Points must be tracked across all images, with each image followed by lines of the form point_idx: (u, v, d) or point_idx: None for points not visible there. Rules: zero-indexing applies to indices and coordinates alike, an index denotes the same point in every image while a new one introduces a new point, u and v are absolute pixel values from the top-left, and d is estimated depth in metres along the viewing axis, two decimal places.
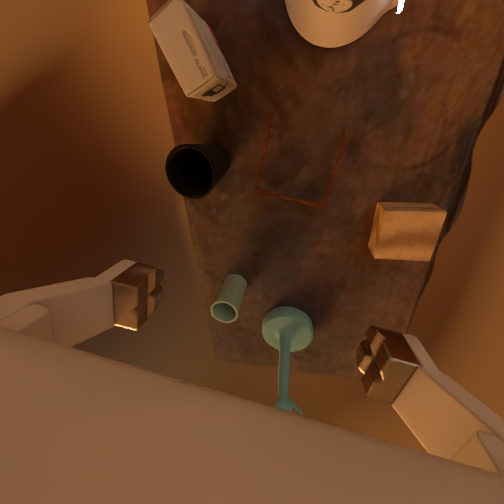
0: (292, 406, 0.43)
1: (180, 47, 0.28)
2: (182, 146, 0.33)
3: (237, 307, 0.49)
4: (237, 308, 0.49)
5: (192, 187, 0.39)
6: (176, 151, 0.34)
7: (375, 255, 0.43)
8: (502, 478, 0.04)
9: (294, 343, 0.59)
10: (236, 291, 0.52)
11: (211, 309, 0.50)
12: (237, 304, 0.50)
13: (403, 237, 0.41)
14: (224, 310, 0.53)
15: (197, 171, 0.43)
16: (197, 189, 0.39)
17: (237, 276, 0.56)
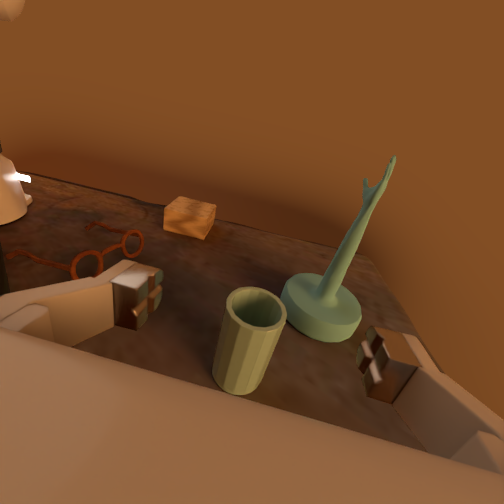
0: (366, 188, 0.31)
1: None
2: None
3: None
4: None
5: None
6: None
7: (203, 218, 0.50)
8: (502, 478, 0.04)
9: (337, 291, 0.39)
10: None
11: (249, 326, 0.21)
12: None
13: (191, 207, 0.53)
14: None
15: None
16: None
17: None
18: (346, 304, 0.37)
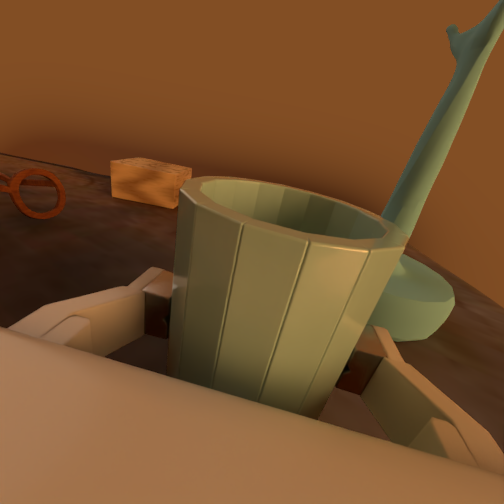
0: (460, 34, 0.16)
1: None
2: None
3: None
4: None
5: None
6: None
7: (171, 174, 0.34)
8: (502, 478, 0.04)
9: None
10: None
11: (287, 231, 0.04)
12: None
13: (154, 165, 0.37)
14: None
15: None
16: None
17: None
18: (418, 272, 0.21)
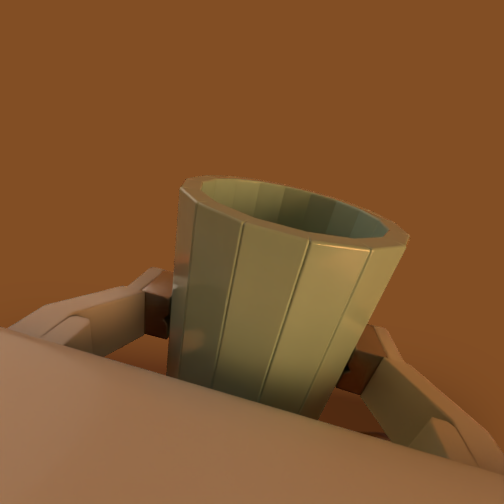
0: None
1: None
2: None
3: None
4: None
5: None
6: None
7: None
8: (502, 478, 0.04)
9: None
10: None
11: (288, 230, 0.04)
12: None
13: None
14: None
15: None
16: None
17: None
18: None
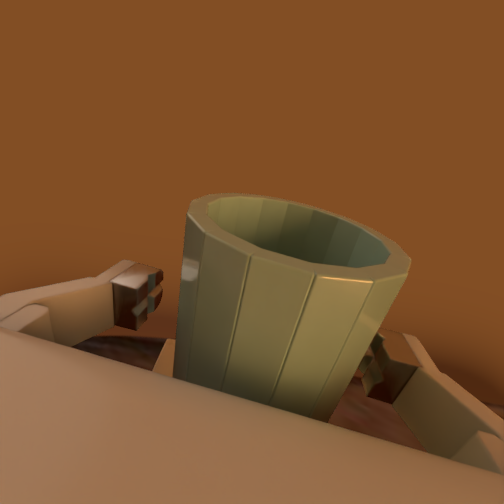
0: None
1: None
2: None
3: None
4: None
5: None
6: None
7: None
8: (502, 478, 0.04)
9: None
10: None
11: (293, 261, 0.04)
12: None
13: None
14: None
15: None
16: None
17: None
18: None
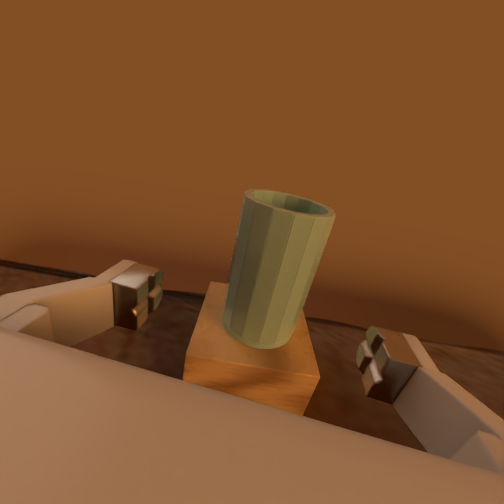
0: None
1: None
2: None
3: None
4: None
5: None
6: None
7: (311, 375, 0.16)
8: (502, 478, 0.04)
9: None
10: None
11: (287, 210, 0.13)
12: None
13: None
14: None
15: None
16: None
17: None
18: None
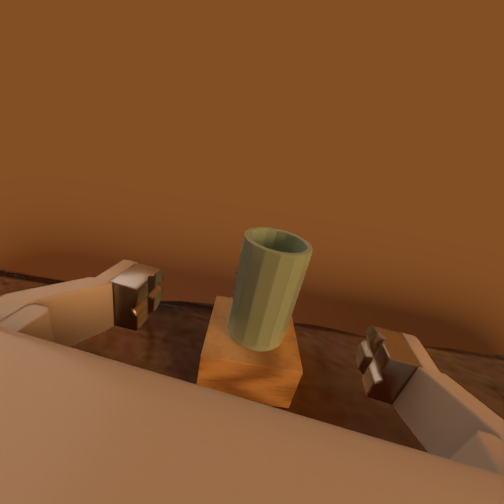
0: None
1: None
2: None
3: None
4: None
5: None
6: None
7: (295, 371, 0.21)
8: (502, 478, 0.04)
9: None
10: None
11: (275, 251, 0.18)
12: None
13: None
14: None
15: None
16: None
17: None
18: None
